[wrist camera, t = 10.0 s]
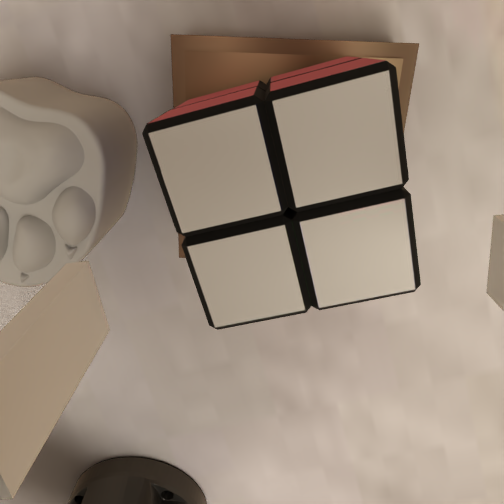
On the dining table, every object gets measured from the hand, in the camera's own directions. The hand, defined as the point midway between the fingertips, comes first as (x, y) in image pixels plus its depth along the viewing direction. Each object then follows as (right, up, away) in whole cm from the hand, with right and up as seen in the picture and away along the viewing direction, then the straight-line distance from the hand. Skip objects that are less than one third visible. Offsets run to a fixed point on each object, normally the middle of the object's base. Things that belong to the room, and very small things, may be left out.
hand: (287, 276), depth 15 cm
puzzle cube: (+1, +7, +13) cm, 15 cm away
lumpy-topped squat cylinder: (-16, +7, +20) cm, 26 cm away
